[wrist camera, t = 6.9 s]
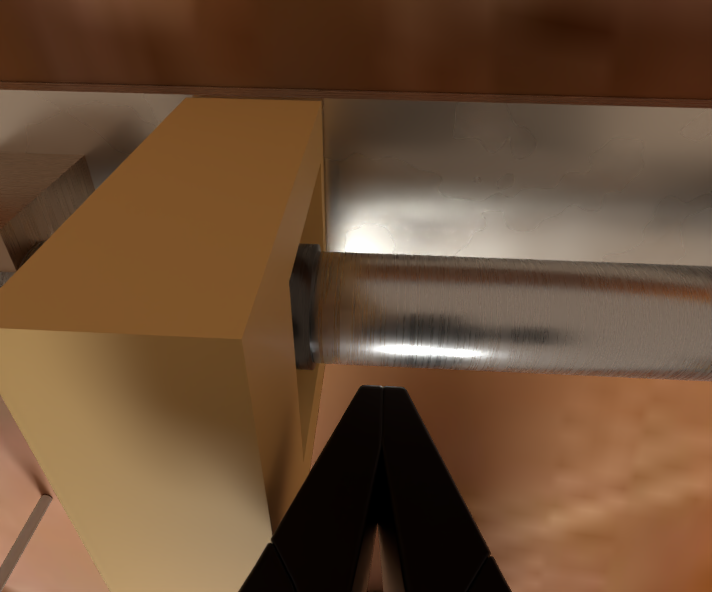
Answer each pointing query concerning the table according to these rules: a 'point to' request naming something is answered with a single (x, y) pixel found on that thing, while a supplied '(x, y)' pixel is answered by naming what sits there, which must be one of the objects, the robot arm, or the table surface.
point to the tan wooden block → (175, 346)
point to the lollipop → (23, 539)
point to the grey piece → (440, 221)
